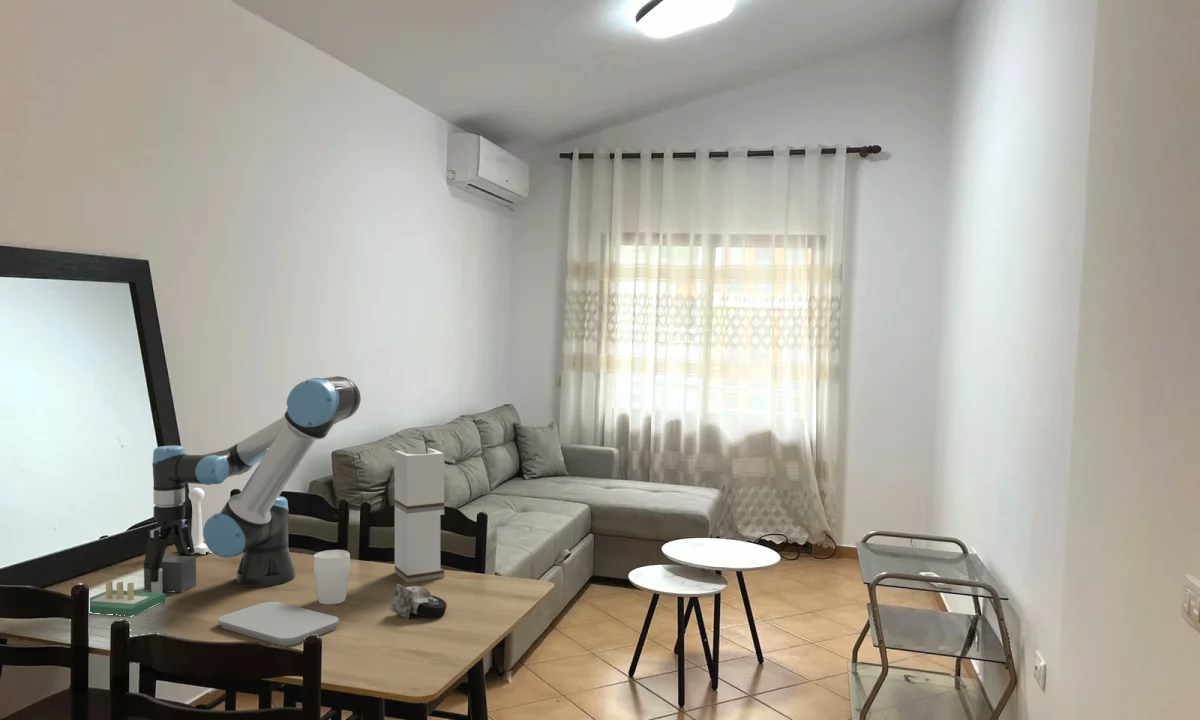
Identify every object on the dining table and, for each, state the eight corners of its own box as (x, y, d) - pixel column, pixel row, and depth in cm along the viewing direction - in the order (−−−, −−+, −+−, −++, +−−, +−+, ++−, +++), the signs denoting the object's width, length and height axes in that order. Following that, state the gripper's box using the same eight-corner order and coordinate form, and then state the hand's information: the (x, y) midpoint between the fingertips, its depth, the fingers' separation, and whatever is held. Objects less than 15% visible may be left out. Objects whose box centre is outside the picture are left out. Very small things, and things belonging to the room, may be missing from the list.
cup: (339, 592, 226) (339, 547, 225) (357, 600, 219) (356, 554, 219) (307, 600, 219) (307, 554, 219) (323, 608, 213) (323, 561, 213)
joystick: (215, 552, 265) (215, 488, 264) (195, 558, 258) (194, 492, 258) (190, 548, 270) (190, 485, 269) (169, 553, 263) (168, 489, 262)
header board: (165, 601, 218) (164, 577, 218) (131, 617, 206) (131, 591, 206) (109, 597, 221) (109, 574, 220) (73, 612, 209) (72, 587, 209)
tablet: (287, 650, 187) (287, 640, 186) (212, 628, 200) (212, 618, 200) (344, 628, 200) (344, 618, 200) (271, 609, 214) (271, 600, 214)
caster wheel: (448, 623, 210) (418, 628, 202) (419, 604, 217) (388, 609, 209) (455, 597, 210) (425, 602, 202) (426, 579, 217) (395, 583, 209)
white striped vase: (444, 577, 240) (444, 453, 239) (407, 582, 235) (407, 455, 234) (430, 567, 250) (430, 448, 249) (394, 572, 245) (394, 450, 244)
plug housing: (196, 586, 231) (195, 556, 230) (181, 592, 225) (181, 562, 224) (159, 583, 233) (159, 554, 232) (144, 590, 227) (143, 560, 226)
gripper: (184, 495, 239) (184, 574, 240) (126, 512, 218) (127, 599, 218) (208, 496, 238) (209, 576, 239) (152, 513, 216) (154, 601, 217)
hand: (170, 587), depth 229 cm, fingers open, 10 cm apart
